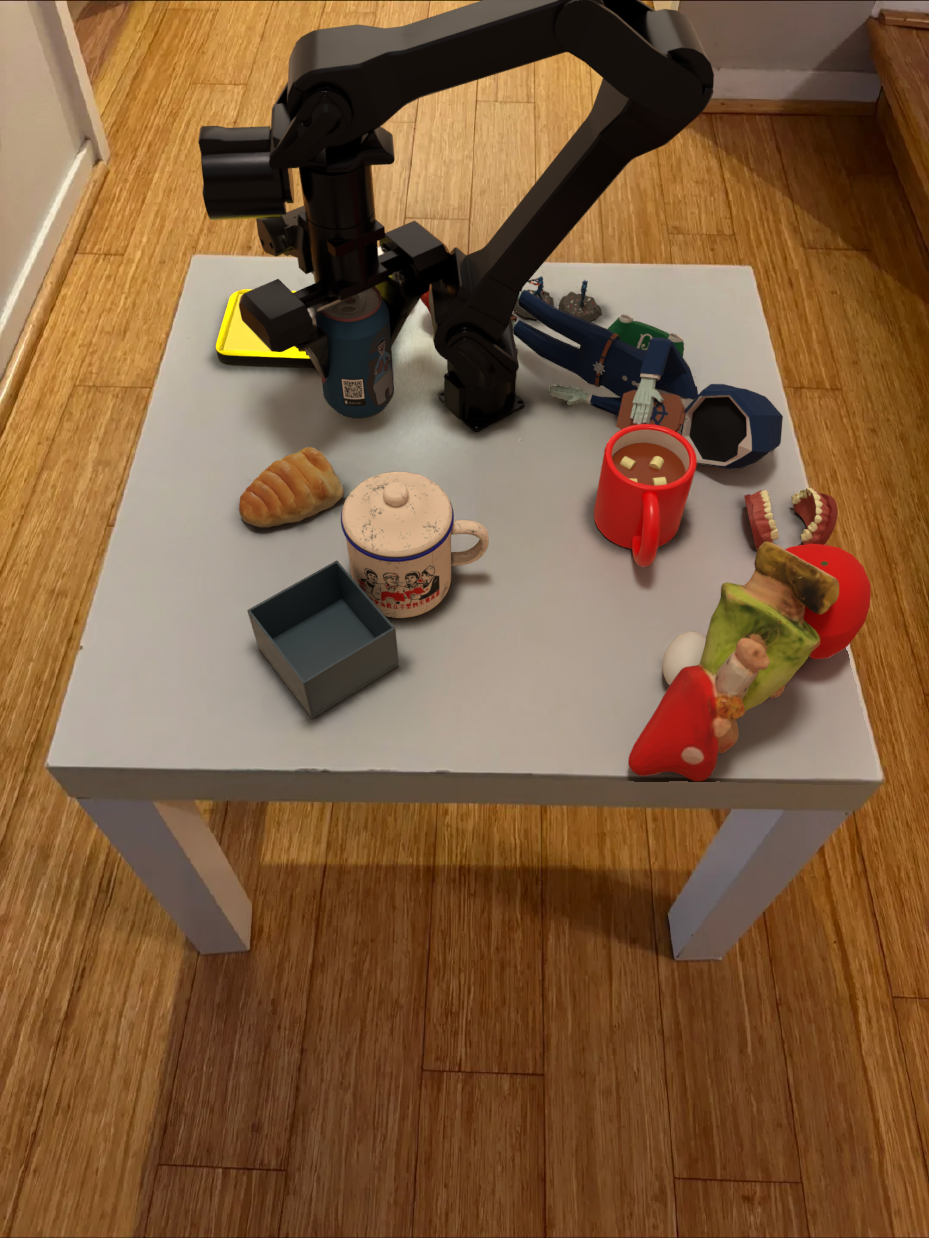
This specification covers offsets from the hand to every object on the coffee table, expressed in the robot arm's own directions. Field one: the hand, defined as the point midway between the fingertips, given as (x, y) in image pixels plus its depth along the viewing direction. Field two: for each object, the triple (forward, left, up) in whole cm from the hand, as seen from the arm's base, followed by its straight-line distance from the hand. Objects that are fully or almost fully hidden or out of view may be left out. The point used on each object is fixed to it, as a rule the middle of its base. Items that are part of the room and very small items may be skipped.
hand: (355, 360), depth 93 cm
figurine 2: (-11, +45, +7) cm, 47 cm away
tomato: (-15, +43, +2) cm, 45 cm away
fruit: (-14, -6, -6) cm, 17 cm away
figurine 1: (-16, +2, 0) cm, 16 cm away
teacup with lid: (+8, +21, -6) cm, 23 cm away
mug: (-11, +28, -6) cm, 31 cm away
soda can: (0, 0, -5) cm, 5 cm away
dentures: (-19, +33, -4) cm, 39 cm away
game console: (-2, -13, -6) cm, 15 cm away
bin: (+18, +23, -6) cm, 30 cm away
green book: (-27, +12, -6) cm, 30 cm away
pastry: (+11, +6, -6) cm, 15 cm away
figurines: (-26, -1, -6) cm, 27 cm away
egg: (-4, +42, -6) cm, 42 cm away
